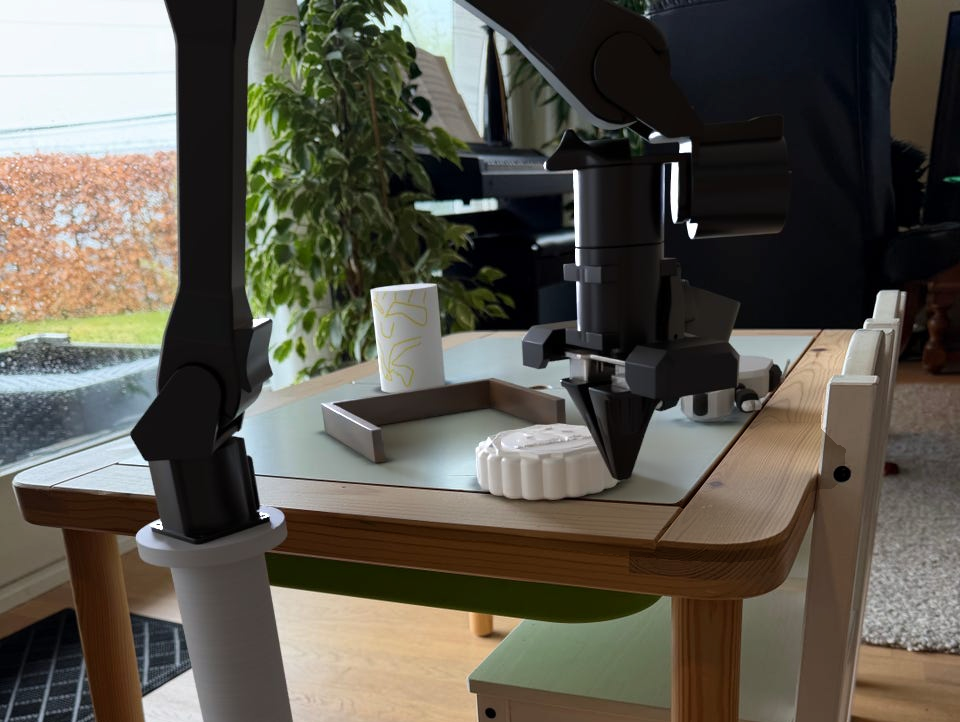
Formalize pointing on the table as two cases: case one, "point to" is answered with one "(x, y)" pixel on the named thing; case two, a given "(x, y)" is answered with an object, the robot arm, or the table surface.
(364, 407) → the frame
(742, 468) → the table surface
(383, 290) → the cup
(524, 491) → the mooncake
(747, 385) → the robot toy
